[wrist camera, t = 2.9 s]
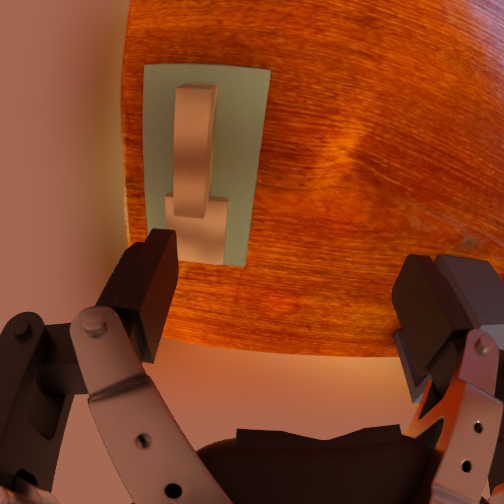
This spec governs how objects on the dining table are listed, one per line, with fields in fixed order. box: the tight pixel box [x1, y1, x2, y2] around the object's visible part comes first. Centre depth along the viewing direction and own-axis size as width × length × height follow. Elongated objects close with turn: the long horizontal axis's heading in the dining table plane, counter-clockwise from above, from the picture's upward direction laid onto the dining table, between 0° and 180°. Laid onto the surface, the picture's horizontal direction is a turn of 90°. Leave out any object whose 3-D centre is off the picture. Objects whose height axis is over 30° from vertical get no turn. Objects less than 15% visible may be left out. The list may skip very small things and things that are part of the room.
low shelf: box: [143, 63, 271, 266], centre depth 27 cm, size 10×19×3 cm, turn 174°
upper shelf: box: [393, 255, 504, 403], centre depth 34 cm, size 10×16×12 cm, turn 174°
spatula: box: [165, 82, 229, 265], centre depth 25 cm, size 17×6×4 cm, turn 174°
